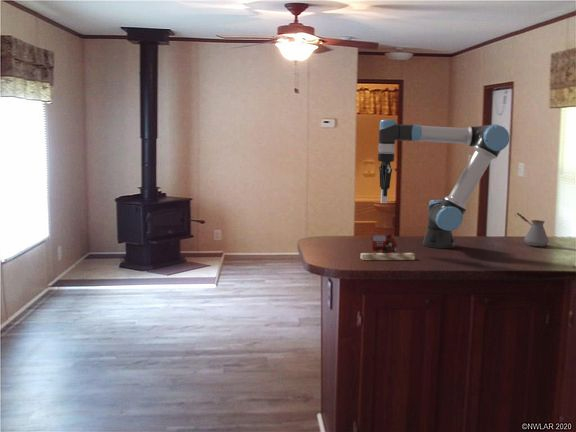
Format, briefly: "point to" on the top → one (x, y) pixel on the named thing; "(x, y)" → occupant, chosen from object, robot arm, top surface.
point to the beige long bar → (387, 256)
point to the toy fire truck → (383, 243)
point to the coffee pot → (535, 233)
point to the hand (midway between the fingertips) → (383, 202)
